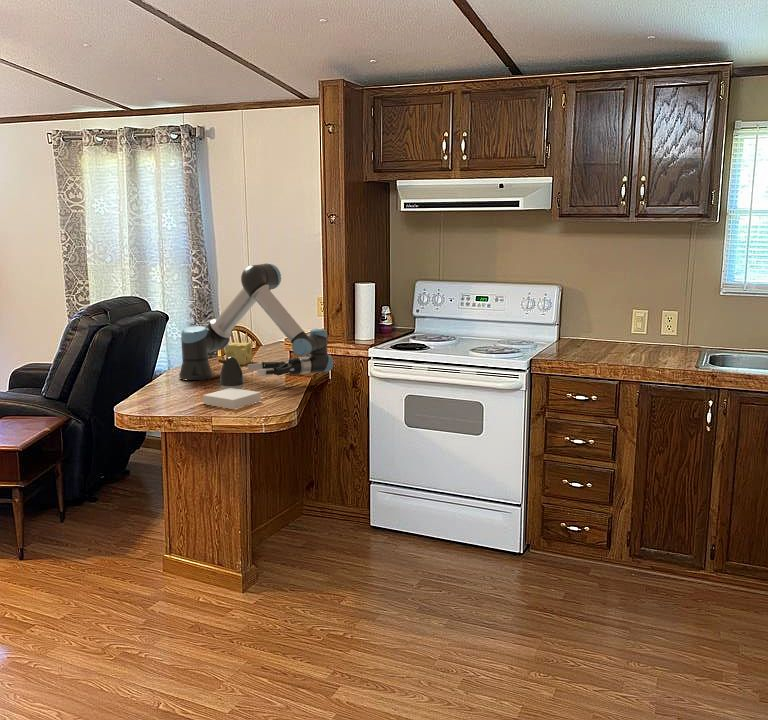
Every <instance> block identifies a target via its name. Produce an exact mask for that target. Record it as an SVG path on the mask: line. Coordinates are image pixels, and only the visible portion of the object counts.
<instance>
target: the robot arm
mask: <svg viewBox="0 0 768 720" xmlns="http://www.w3.org/2000/svg"><path fill="white" fill-rule="evenodd" d="M240 279H241V280H240V282H241V285H242V288H241V290H240V291H239V292H238V293H237V295H236V296H235V297H234V298H233V299H232V301H231V302H230V303H229V304H228V305H227V307H226V308H225V309H224V310H223V311H222V312H221V314H220V315H219V316H218V317H217V318H213V319H211V320H210V322H208V324H207V325H206V326H202V325H195V326H190V327H186V328H184V329H183V330H182V331H181V334H180V335H181V338H180V341H181V357H182V359H181V360H182V363H181V367H180V371H179V374H178V378H181V379H187V380H203V381H207V380H206V379H208V380H211V379H213V377H214V374H213V371H212V368H211V366H210V362H209V353H212V352H217V351H221V350H223V349H224V348H225V349H226V346H227V345H229V344H230V341H231V340H230V338H231V337H232V333H233V332H232V330H233V329H234V328H235V327H236V326H237V324H238V323H240V321H241V320H242V319H243V318H244V317H245V315H246V314H247V313H248V312H249V311H250V310H251V308H252V307H254V305H255V304H256V303H257V304H258V305H259V306H260V307H261V309H263V311H264V312H265V313H266V315H268V317H269V318H270V319H271V320H272V322H273V323H274V325H276V326H277V328H278V329H279V330H280V332H282V333H283V335H284V336H285V337H286V338H287V340H288V341H289V342H290V343H291V349H292V352H293V353H294V354H295V355H296V356H298V357H290V358H289V359H288V362H285V361H262V362H259V363H250V364H249V363H247V371H249V372H250V371H257V375H258V377H265V376H272V375H275V376H282V375H285V374H286V375H287V374H290V375H291V376H293V375H294V376H296V375H304V376H306V375H307V374H315V373H326V372H330V371H332V369H333V368H334V367H333V366H334V360H333V357H332V355H330V354H328V332H327V330H326V329H324V328H312V329H311V330H310V332H309V335H308V334H307V333H306V332H305V331H304V330H303V328H302V327H301V326H300V325H299V324H298V323H297V321H296V320H295V319H294V318H293V317H292V315H291V314H290V313H289V312H288V310H287V309H286V308H285V307H284V305H283V304H282V303H281V302H280V301H279V299H277V297H276V296H275V294H273V292H272V291H271V290H274V289H277V288H278V287H279V286H280V284H281V281H282V275H281V271H280V270H279V267H277V266H276V265H275V264H272V263H268V262H267V263H262V264H261V263H259V264H251V265H249V266H247V267H246V268H244V269H243V271H242V273H241V277H240ZM308 355H309V356H308Z"/></svg>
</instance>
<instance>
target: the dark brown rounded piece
mask: <svg viewBox="0 0 768 720" xmlns="http://www.w3.org/2000/svg"><path fill="white" fill-rule="evenodd" d="M218 363H221V364H222V366H221V369H220V374H219V386H220V389H221V390H225V389H228V388H235V389H242V390H243V387H244V384H245V379H244V374H243V371H242V367H241V365H240V364H239V362H238V361H237V359H236V358H234V357H228V358H227V359H226V358H225V360H223V359H218Z"/></svg>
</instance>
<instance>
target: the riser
mask: <svg viewBox="0 0 768 720" xmlns="http://www.w3.org/2000/svg"><path fill="white" fill-rule="evenodd" d="M261 395H262V392H261V391H255V390H254V391H253V390H248V389H243V388H242V389H235V388H228V389H225V390H222V389H221V390H218V391H214V392H213V391H212V392H209V393H206V394H203V395H202V398H203V399H202V402H203V403H202V404H207V405H212V406H211V407H213V406H219V407H224V408H223V409H225V408H230V409H235V408H239V407H242V406H245V405H249V404H252V403H255V402H259V401H261V402H262V400H261V399H262V396H261ZM259 403H260V402H259ZM207 405H206V406H207ZM252 405H253V404H252ZM249 406H250V405H249ZM219 407H218V408H219ZM242 408H243V407H242ZM230 409H229V410H230ZM239 409H240V408H239Z"/></svg>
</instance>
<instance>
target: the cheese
mask: <svg viewBox="0 0 768 720" xmlns="http://www.w3.org/2000/svg"><path fill="white" fill-rule="evenodd" d="M252 356H253V348H252V343H251V342H231V343H228V345H227V346H226V347H225V360H226V359H227V358H228V357H234V358H236V359H237V361H238V362H239V364H240V366H246V365H248V364H249V363H252Z"/></svg>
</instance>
